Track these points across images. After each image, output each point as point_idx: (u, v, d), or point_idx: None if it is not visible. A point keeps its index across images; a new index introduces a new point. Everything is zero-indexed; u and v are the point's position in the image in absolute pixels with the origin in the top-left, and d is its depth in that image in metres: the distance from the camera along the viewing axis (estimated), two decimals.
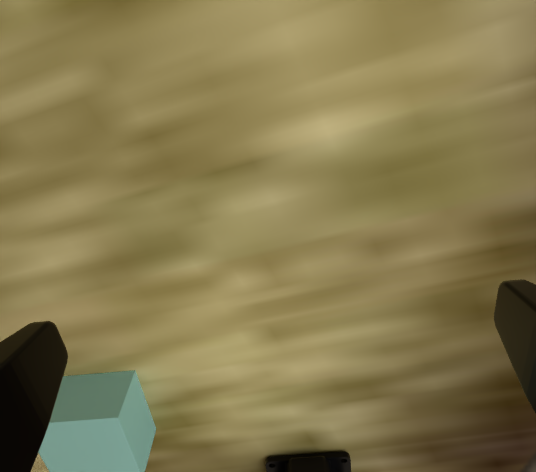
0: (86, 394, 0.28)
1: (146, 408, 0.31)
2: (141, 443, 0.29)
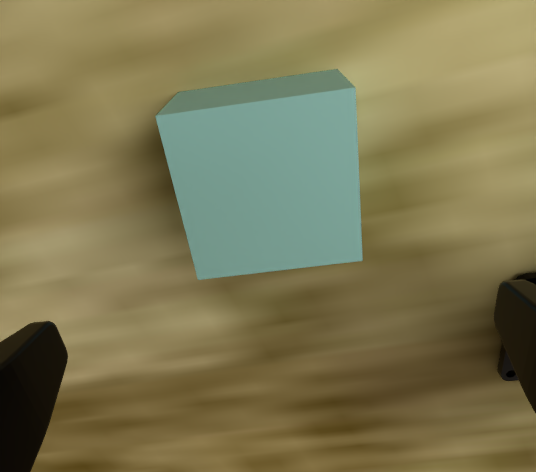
0: (262, 88, 0.15)
1: None
2: None
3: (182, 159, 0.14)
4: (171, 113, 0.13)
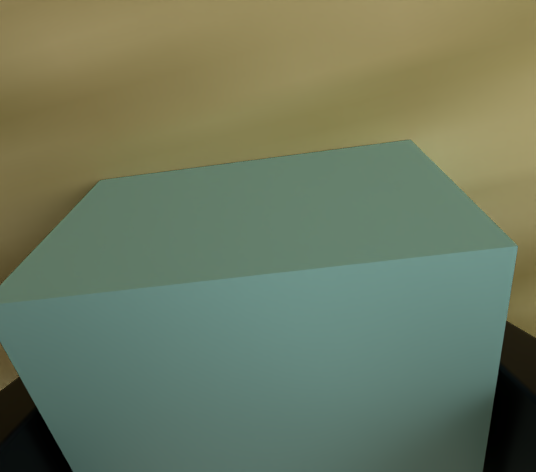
0: (262, 201, 0.07)
1: None
2: None
3: (64, 389, 0.06)
4: (23, 297, 0.05)
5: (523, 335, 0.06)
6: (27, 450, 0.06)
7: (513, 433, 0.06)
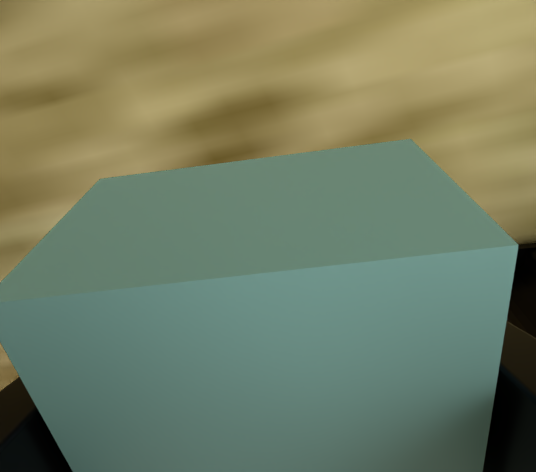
0: (262, 199, 0.07)
1: None
2: None
3: (64, 388, 0.06)
4: (23, 296, 0.05)
5: (523, 335, 0.06)
6: (27, 450, 0.06)
7: (513, 433, 0.06)
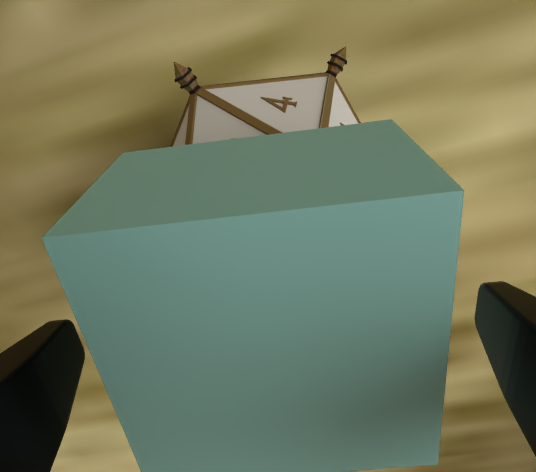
0: (265, 165, 0.08)
1: None
2: None
3: (104, 311, 0.07)
4: (76, 232, 0.06)
5: None
6: None
7: None
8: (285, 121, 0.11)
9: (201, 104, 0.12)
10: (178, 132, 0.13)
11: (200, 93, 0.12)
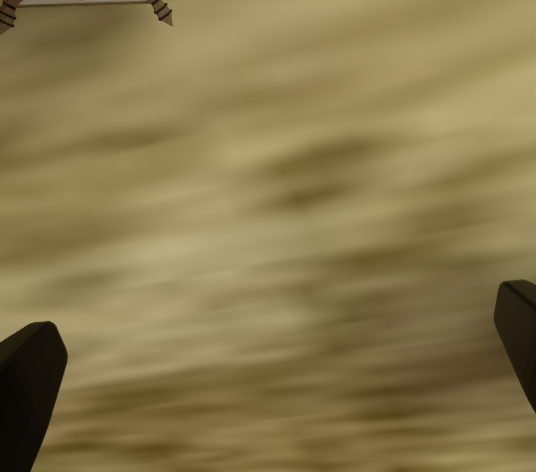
0: None
1: None
2: None
3: None
4: None
5: None
6: None
7: None
8: None
9: None
10: None
11: None
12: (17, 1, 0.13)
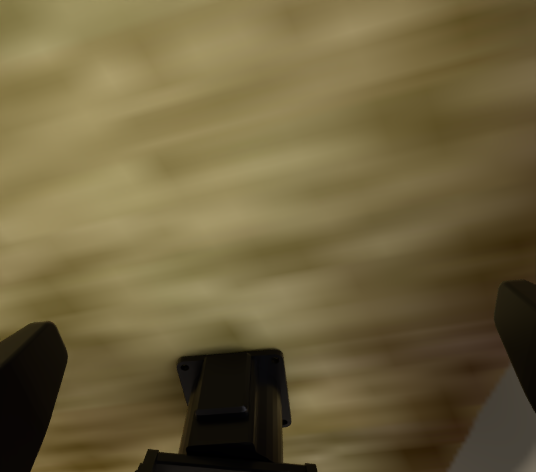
0: None
1: None
2: None
3: None
4: None
5: None
6: None
7: None
8: None
9: None
10: None
11: None
12: None
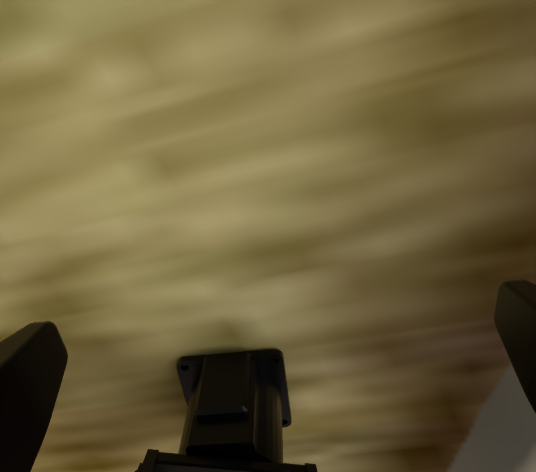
0: None
1: None
2: None
3: None
4: None
5: None
6: None
7: None
8: None
9: None
10: None
11: None
12: None
